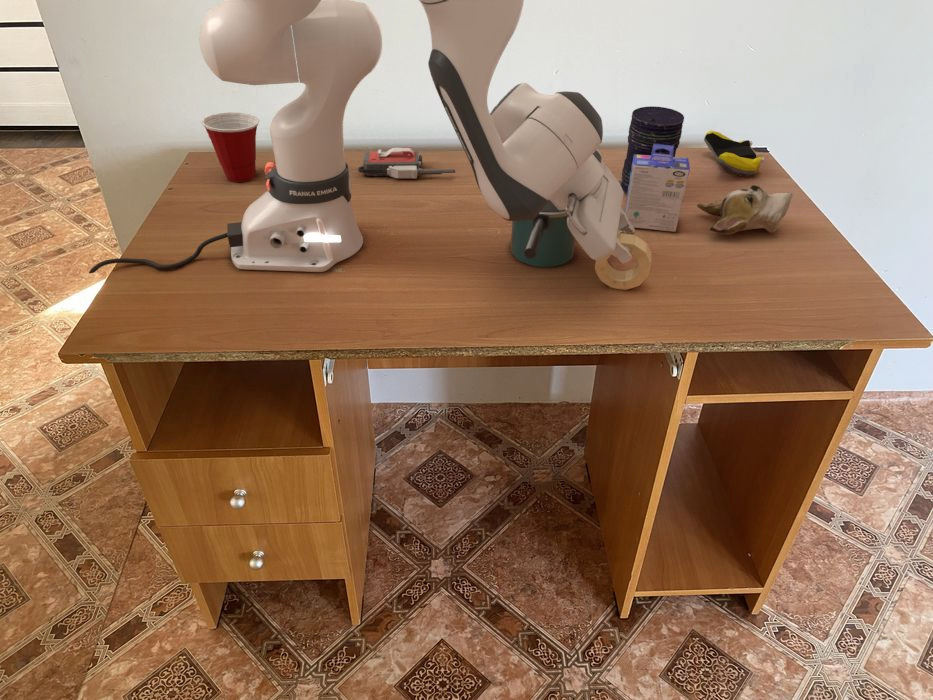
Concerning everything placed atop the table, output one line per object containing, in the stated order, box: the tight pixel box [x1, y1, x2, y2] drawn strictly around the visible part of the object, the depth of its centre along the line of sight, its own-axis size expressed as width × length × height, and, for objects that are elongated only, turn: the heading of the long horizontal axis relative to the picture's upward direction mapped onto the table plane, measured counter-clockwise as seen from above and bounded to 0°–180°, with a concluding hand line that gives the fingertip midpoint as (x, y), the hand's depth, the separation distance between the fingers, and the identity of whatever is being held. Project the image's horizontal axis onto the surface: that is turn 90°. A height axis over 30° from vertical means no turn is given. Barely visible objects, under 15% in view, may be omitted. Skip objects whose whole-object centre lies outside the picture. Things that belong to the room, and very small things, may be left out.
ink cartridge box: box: [623, 144, 691, 233], centre depth 123 cm, size 10×6×14 cm, turn 78°
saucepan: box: [510, 200, 577, 268], centre depth 112 cm, size 22×12×10 cm, turn 166°
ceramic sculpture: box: [696, 184, 793, 236], centre depth 123 cm, size 11×9×15 cm
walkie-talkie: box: [357, 146, 456, 180], centre depth 142 cm, size 9×4×20 cm
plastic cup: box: [201, 111, 260, 183], centre depth 138 cm, size 11×11×12 cm
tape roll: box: [594, 233, 653, 291], centre depth 108 cm, size 8×3×8 cm, turn 76°
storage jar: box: [620, 106, 685, 195], centre depth 134 cm, size 10×10×15 cm
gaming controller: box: [703, 130, 765, 178], centre depth 145 cm, size 15×6×10 cm
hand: (629, 247), depth 107 cm, fingers open, 6 cm apart
